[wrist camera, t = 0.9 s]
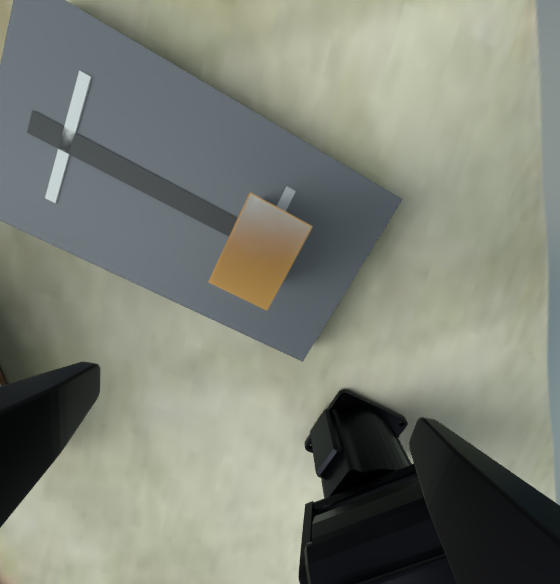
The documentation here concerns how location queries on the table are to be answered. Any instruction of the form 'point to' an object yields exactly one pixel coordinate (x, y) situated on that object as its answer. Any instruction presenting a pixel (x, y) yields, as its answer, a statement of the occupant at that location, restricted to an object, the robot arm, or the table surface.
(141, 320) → the table surface
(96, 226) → the fader board
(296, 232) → the fader
